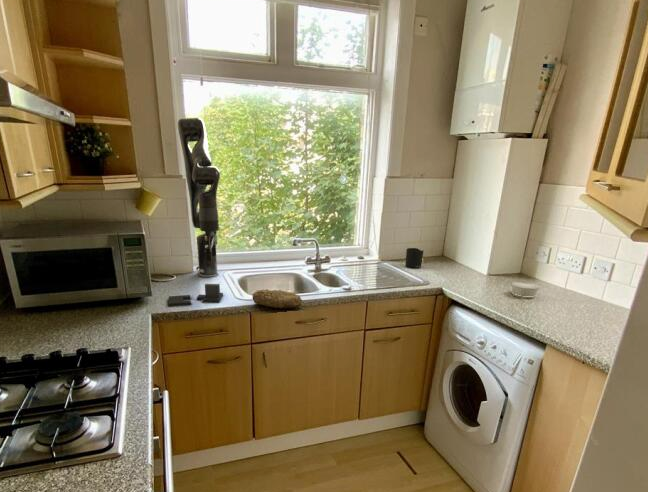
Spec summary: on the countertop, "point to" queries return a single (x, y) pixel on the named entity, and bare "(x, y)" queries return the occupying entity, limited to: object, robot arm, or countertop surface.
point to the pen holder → (414, 258)
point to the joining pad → (210, 299)
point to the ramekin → (524, 289)
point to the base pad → (179, 300)
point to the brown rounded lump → (277, 299)
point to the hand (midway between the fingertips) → (211, 258)
